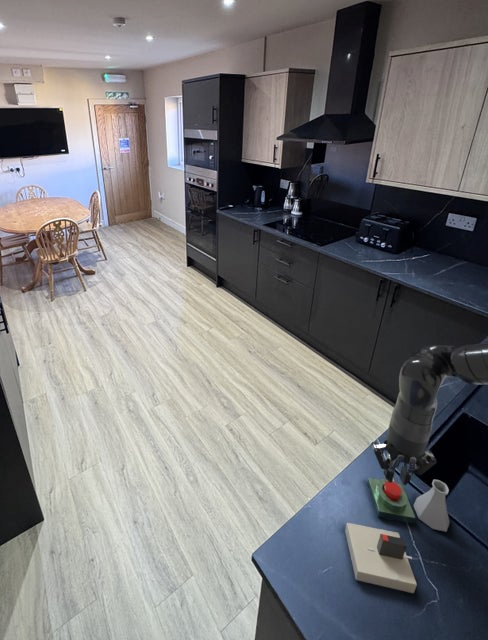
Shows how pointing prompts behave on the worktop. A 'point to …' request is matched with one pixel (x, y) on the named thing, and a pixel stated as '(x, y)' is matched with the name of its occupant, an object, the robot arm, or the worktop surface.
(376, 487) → the box
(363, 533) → the panel
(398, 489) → the power button
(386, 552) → the knob
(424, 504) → the flask
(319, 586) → the worktop surface
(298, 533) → the worktop surface
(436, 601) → the worktop surface
